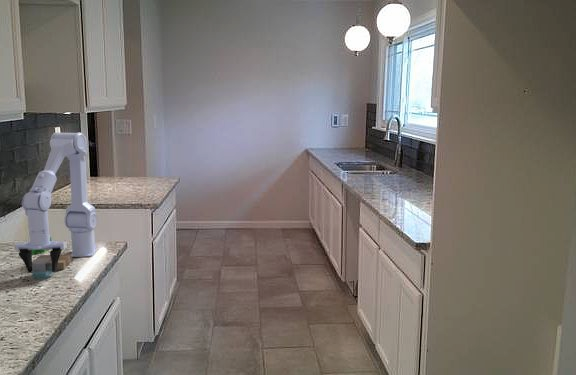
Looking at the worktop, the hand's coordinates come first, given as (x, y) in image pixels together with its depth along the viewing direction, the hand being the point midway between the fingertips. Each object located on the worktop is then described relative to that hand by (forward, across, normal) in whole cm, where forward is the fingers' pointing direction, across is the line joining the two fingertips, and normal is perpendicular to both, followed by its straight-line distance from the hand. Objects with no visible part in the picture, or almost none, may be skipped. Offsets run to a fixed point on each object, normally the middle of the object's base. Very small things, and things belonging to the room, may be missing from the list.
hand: (42, 271), depth 167 cm
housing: (+2, 0, 0) cm, 2 cm away
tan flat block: (+1, 0, +10) cm, 10 cm away
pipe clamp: (+2, -9, +28) cm, 30 cm away
